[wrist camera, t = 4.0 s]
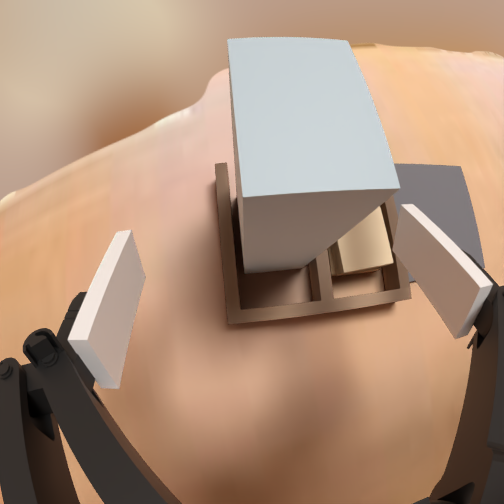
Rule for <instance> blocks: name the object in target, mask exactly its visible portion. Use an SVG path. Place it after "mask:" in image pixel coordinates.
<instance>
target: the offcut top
mask: <svg viewBox="0 0 504 504" xmlns="http://www.w3.org/2000/svg"><path fill="white" fill-rule="evenodd" d="M331 249H332V253H333V258H334V263H335V268H336V274H337V275H342V274H348V273H353V272H358V271H363V270H368V269H373V268H378V267H383V266H386V265H389V264H392V263H393V258H392V253H391V249H390V244H389V240H388V236H387V232H386V228H385V224H384V220H383V216H382V212H381V208H380V206H379V207H378V208H377V209H375V210H374V211H373V212H372V213H371V214H369V215H368V216H367V217H366V218H365V219H363V220H362V221H361V222H360V223H358V224H357V225H356V226H355V227H353V228H352V229H351V230H350V231H349V232H347V233H346V234H345V235H344V236H342V237H341V238H340V239H339V240H337V241H336V242H335V243H334V244H332V245H331Z"/></svg>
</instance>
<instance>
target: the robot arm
mask: <svg viewBox="0 0 504 504" xmlns="http://www.w3.org/2000/svg"><path fill="white" fill-rule="evenodd" d="M392 251H393V252H394V253H395V254H396V256H397V257H398V258H399V260H400V261H401V262H402V264H403V265H404V266H405V268H406V269H407V270H408V272H409V273H410V274H411V276H412V277H413V278H414V280H415V281H416V282H417V284H418V285H419V287H420V288H421V289H422V291H423V292H424V293H425V295H426V296H427V298H428V299H429V301H430V302H431V303H432V305H433V306H434V308H435V309H436V311H437V312H438V314H439V315H440V317H441V318H442V320H443V321H444V323H445V324H446V326H447V327H448V329H449V330H450V332H451V334H452V335H453V337H454V338H455V339H457V338H460V337H463V336H466V335H468V333H469V332H470V330H471V328H472V326H473V325H474V326H475V327H476V329H477V331H476V332H475V334H474V336H473V338H472V339H471V341H470V343H469V344H468V347H467V349H469V348H470V347H471V345H472V344H473V349H472V358H471V365H470V372H469V378H468V384H467V389H466V395H465V400H464V404H463V409H462V413H461V418H460V422H459V426H458V430H457V433H456V437H455V441H454V444H453V448H452V451H451V454H450V457H449V461H448V464H447V467H446V469H445V472H444V475H443V476H442V478H441V480H440V481H439V482H438V483H437V485H436V486H435V488H434V489H433V491H432V493H431V495H430V497H427V498H424V499H422V500H420V501H418V502H415V503H413V504H504V286H500V287H499V285H498V284H497V283H496V282H495V281H494V280H493V279H492V278H491V276H490V275H489V274H488V273H487V272H486V271H485V270H484V269H482V267H481V266H480V264H479V263H477V261H476V260H475V259H474V258H473V257H472V256H471V255H470V254H468V253H467V252H465V251H464V250H462V249H460V248H459V247H458V246H457V245H456V244H455V243H454V242H453V241H452V240H451V239H450V238H449V237H448V236H447V235H446V234H445V233H444V232H443V231H442V230H441V229H440V228H439V227H437V226H436V225H435V224H434V223H433V222H432V221H431V220H430V219H429V218H428V217H427V216H426V215H425V214H423V213H422V212H421V211H420V210H419V209H418V208H417V207H416V206H415V205H413V204H402V205H401V207H400V212H399V218H398V224H397V229H396V234H395V239H394V244H393V249H392ZM145 278H146V276H145V273H144V270H143V267H142V264H141V261H140V257H139V254H138V251H137V247H136V244H135V240H134V237H133V233H132V230H127V231H120V232H117V233H116V234H115V236H114V238H113V240H112V242H111V244H110V246H109V248H108V250H107V252H106V254H105V256H104V258H103V260H102V262H101V264H100V266H99V268H98V270H97V272H96V274H95V277H94V279H93V281H92V283H91V285H90V287H89V290H88V292H80V293H79V294H78V295H77V296H76V297H75V298H74V299H73V300H72V302H71V304H70V306H69V309H68V312H67V313H66V315H65V320H63V322H62V324H61V327H60V329H59V331H58V334H57V336H55V335H54V333H53V332H52V331H51V330H50V329H47V328H42V329H38V330H36V331H34V332H33V333H31V334H30V335H29V336H28V337H27V339H26V340H25V342H24V345H23V353H24V354H25V355H26V357H27V358H28V359H29V361H30V362H31V363H29V364H26V365H22V366H21V365H20V364H19V363H18V361H17V360H16V359H14V358H6V359H4V360H3V361H1V362H0V486H1V491H2V496H3V501H4V504H80V502H79V500H78V497H77V494H76V491H75V488H74V485H73V481H72V478H71V475H70V472H69V468H68V464H67V461H66V457H65V453H64V449H63V445H62V441H61V436H60V432H59V427H58V424H59V426H60V428H61V430H62V432H63V434H64V436H65V438H66V440H67V442H68V444H69V446H70V448H71V450H72V452H73V454H74V455H75V457H76V459H77V461H78V462H79V464H80V466H81V468H82V469H83V471H84V473H85V474H86V476H87V478H88V479H89V481H90V482H91V484H92V486H93V487H94V489H95V490H96V492H97V493H98V495H99V496H100V498H101V499H102V501H103V502H104V504H182V503H181V502H180V501H179V500H178V499H177V498H176V497H175V496H174V495H173V494H172V493H171V492H170V490H169V489H168V488H167V487H166V486H165V485H164V484H163V483H162V482H161V480H160V479H159V478H158V477H157V476H156V475H155V473H154V472H153V471H152V470H151V469H150V467H149V466H148V465H147V464H146V463H145V461H144V460H143V459H142V458H141V456H140V455H139V454H138V452H137V451H136V450H135V449H134V447H133V446H132V445H131V443H130V442H129V441H128V439H127V438H126V436H125V435H124V434H123V432H122V431H121V429H120V428H119V427H118V425H117V424H116V422H115V421H114V419H113V418H112V416H111V415H110V413H109V412H108V410H107V409H106V407H105V406H104V404H103V403H102V401H101V399H100V398H99V396H98V395H97V393H96V392H95V390H94V389H93V386H94V382H95V380H96V382H97V383H98V384H99V386H100V387H101V388H111V389H119V388H120V383H121V378H122V373H123V368H124V363H125V358H126V354H127V349H128V345H129V340H130V336H131V332H132V328H133V323H134V319H135V315H136V311H137V307H138V304H139V300H140V296H141V292H142V288H143V285H144V281H145Z"/></svg>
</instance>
